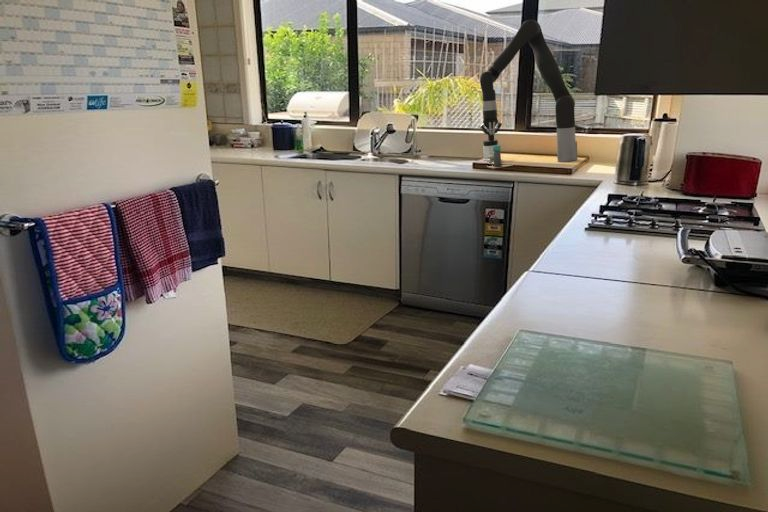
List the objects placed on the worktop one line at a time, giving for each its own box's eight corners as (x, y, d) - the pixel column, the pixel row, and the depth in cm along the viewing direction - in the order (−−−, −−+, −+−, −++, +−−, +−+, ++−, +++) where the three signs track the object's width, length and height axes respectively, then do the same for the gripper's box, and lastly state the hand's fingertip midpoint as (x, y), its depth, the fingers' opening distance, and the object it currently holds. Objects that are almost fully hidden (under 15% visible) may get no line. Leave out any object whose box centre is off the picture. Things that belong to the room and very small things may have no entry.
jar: (486, 163, 336) (484, 142, 332) (482, 161, 343) (480, 141, 340) (501, 161, 337) (500, 140, 333) (496, 159, 344) (495, 139, 341)
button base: (495, 162, 333) (495, 158, 332) (501, 164, 326) (501, 159, 326) (484, 164, 331) (484, 160, 330) (489, 165, 325) (489, 161, 324)
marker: (499, 165, 320) (498, 145, 317) (502, 165, 316) (501, 145, 313) (492, 166, 319) (491, 146, 316) (495, 167, 315) (494, 146, 312)
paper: (506, 163, 325) (506, 163, 325) (514, 165, 316) (514, 164, 316) (486, 166, 322) (486, 166, 322) (493, 168, 314) (493, 167, 314)
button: (494, 159, 331) (494, 154, 330) (498, 160, 326) (498, 155, 326) (486, 160, 330) (486, 155, 329) (490, 161, 325) (490, 156, 325)
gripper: (481, 110, 315) (483, 143, 320) (504, 108, 319) (505, 140, 323) (475, 110, 322) (477, 142, 327) (497, 107, 326) (499, 139, 330)
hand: (491, 141), depth 325 cm, fingers closed
